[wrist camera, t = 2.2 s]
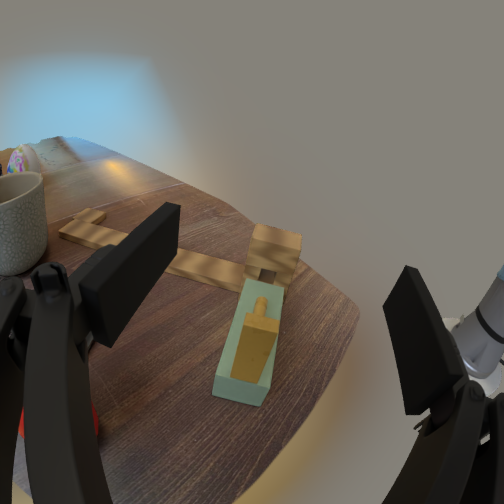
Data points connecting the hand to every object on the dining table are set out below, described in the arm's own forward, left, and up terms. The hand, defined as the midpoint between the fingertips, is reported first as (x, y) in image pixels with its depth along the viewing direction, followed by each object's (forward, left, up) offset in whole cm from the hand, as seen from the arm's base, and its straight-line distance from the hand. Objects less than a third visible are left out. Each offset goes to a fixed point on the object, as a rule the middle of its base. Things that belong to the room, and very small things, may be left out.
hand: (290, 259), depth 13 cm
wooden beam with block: (+21, -30, -24) cm, 44 cm away
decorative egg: (+79, -41, -24) cm, 92 cm away
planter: (+47, -14, -24) cm, 55 cm away
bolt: (0, -11, -19) cm, 22 cm away
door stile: (0, -14, -24) cm, 28 cm away
